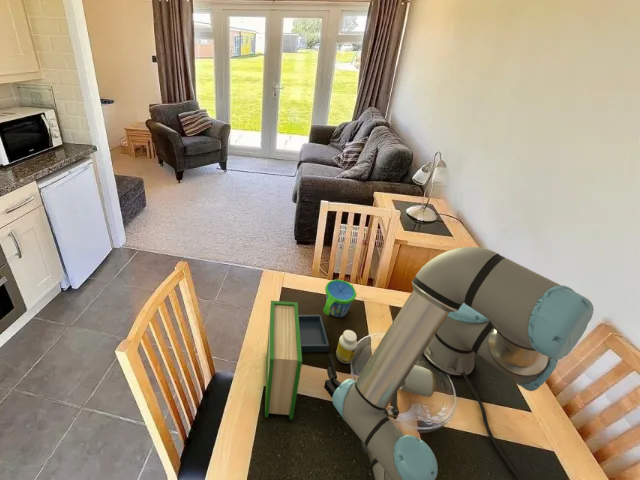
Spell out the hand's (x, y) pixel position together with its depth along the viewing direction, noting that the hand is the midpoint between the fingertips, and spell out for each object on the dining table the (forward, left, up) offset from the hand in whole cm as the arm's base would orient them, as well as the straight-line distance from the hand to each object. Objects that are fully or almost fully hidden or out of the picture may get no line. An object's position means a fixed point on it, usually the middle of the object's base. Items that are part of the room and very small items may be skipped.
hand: (351, 356), depth 93 cm
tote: (+16, +4, -6) cm, 17 cm away
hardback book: (+7, +21, -6) cm, 23 cm away
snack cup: (+19, -13, -6) cm, 24 cm away
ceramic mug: (-12, -13, -6) cm, 19 cm away
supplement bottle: (+4, -2, -6) cm, 8 cm away
